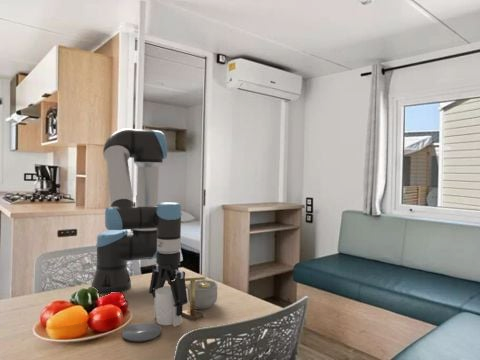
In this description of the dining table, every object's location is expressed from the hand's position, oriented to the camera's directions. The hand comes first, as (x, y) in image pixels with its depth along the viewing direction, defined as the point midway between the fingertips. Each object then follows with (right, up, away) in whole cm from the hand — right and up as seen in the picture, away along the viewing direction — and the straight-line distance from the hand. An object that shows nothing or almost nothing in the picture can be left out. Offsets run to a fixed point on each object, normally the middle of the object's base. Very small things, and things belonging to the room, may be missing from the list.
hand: (167, 320), depth 116 cm
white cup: (0, 0, 0) cm, 0 cm away
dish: (-6, 0, -10) cm, 11 cm away
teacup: (+10, 0, +15) cm, 18 cm away
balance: (+7, 0, +4) cm, 9 cm away
